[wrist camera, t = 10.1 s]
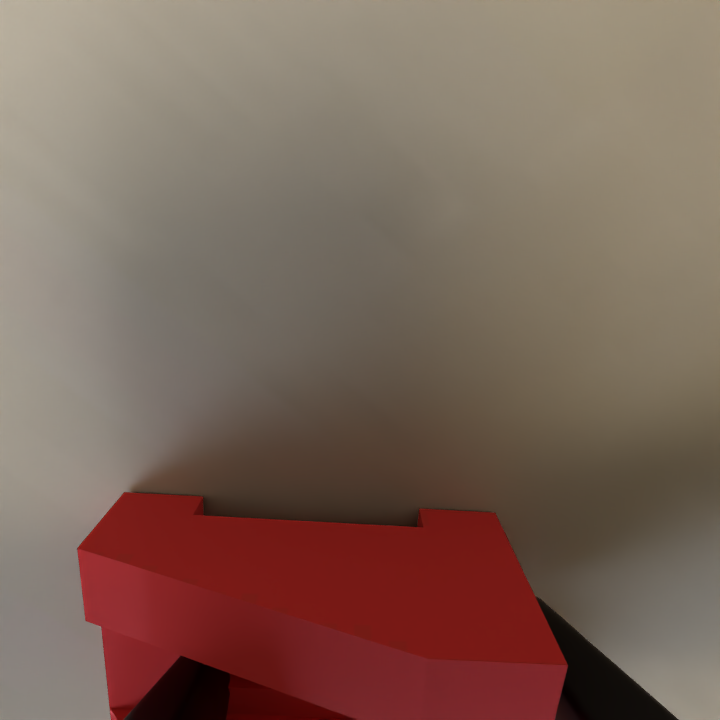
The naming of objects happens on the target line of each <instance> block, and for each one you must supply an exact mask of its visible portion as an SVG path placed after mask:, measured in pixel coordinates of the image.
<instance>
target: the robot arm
mask: <svg viewBox="0 0 720 720" xmlns="http://www.w3.org/2000/svg"><path fill="white" fill-rule="evenodd" d="M536 599H537V601H538V604H539V606H540V608H541V610H542V612H543V614H544V616H545V618H546V620H547V622H548V625H549V627H550V629H551V631H552V633H553V635H554V637H555V639H556V641H557V643H558V646H559V648H560V650H561V652H562V654H563V656H564V658H565V660H566V662H567V664H568V668H567V672H566V676H565V680H564V684H563V688H562V692H561V696H560V700H559V704H558V708H557V712H556V716H555V720H678V719H677V718H676V717H675V716H674V715H673V714H672V713H670V712H669V711H668V710H667V709H666V708H665V707H664V706H662V705H661V704H660V703H659V702H658V701H657V700H656V699H654V698H653V697H652V696H651V695H650V694H649V693H648V692H646V691H645V690H644V689H643V688H642V687H641V686H640V685H638V684H637V683H636V682H635V681H634V680H633V679H632V678H630V677H629V676H628V675H627V674H626V673H625V672H624V671H622V670H621V669H620V668H619V667H618V666H617V665H616V664H614V663H613V662H612V661H611V660H610V659H609V658H608V657H606V656H605V655H604V654H603V653H602V652H601V651H599V650H598V649H597V648H596V647H595V646H594V645H593V644H591V643H590V642H589V641H588V640H587V639H586V638H585V637H583V636H582V635H581V634H580V633H579V632H578V631H577V630H575V629H574V628H573V627H572V626H571V625H570V624H569V623H567V622H566V621H565V620H564V619H563V618H562V617H561V616H559V615H558V614H557V613H556V612H555V611H554V610H553V609H551V608H550V607H549V606H548V605H547V604H546V603H545V602H543V601H542V600H541V599H540V598H538V597H536ZM229 682H230V674H229V673H228V672H225V671H222V670H219V669H217V668H214V667H211V666H208V665H206V664H203V663H200V662H197V661H195V660H192V659H189V658H186V657H184V656H180V657H179V658H178V659H177V660H176V661H175V662H174V664H173V665H172V666H171V667H170V668H169V669H168V670H167V671H166V672H165V674H164V675H163V676H162V677H161V678H160V679H159V680H158V681H157V683H156V684H155V685H154V686H153V687H152V688H151V689H150V690H149V691H148V693H147V694H146V695H145V696H144V697H143V698H142V699H141V700H140V702H139V703H138V704H137V705H136V706H135V707H134V708H133V709H132V710H131V712H130V713H129V714H128V715H127V716H126V717H125V718H124V719H123V720H226V718H227V710H228V703H229V696H230V692H229V689H228V686H229Z"/></svg>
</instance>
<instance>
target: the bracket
mask: <svg viewBox="0 0 720 720" xmlns="http://www.w3.org/2000/svg"><path fill="white" fill-rule="evenodd" d="M77 550H78V558H79V567H80V576H81V585H82V594H83V602H84V611H85V620H86V621H88V622H90V623H93V624H96V625H99V626H101V628H102V638H103V648H104V657H105V667H106V677H107V686H108V696H109V706H110V716H111V720H123V719H124V718H125V717H126V716H127V715H128V714H129V713H130V712H131V710H132V709H133V708H134V707H135V706H136V705H137V704H138V703H139V702H140V700H141V699H142V698H143V697H144V696H145V695H146V694H147V693H148V691H149V690H150V689H151V688H152V687H153V686H154V685H155V684H156V683H157V681H158V680H159V679H160V678H161V677H162V676H163V675H164V674H165V672H166V671H167V670H168V669H169V668H170V667H171V666H172V665H173V664H174V662H175V661H176V660H177V659H178V658H179V657H180V656H184V657H186V658H189V659H192V660H195V661H197V662H200V663H203V664H206V665H208V666H211V667H214V668H217V669H219V670H222V671H225V672H228V673H229V674H230V682H229V686H228V689H229V692H230V696H229V703H228V710H227V718H226V720H555V716H556V712H557V708H558V704H559V700H560V696H561V692H562V688H563V684H564V680H565V676H566V672H567V668H568V664H567V662H566V660H565V658H564V656H563V654H562V652H561V650H560V648H559V646H558V643H557V641H556V639H555V637H554V635H553V633H552V631H551V629H550V627H549V625H548V622H547V620H546V618H545V616H544V614H543V612H542V610H541V608H540V606H539V604H538V601H537V599H536V597H535V595H534V593H533V591H532V589H531V587H530V585H529V583H528V580H527V578H526V576H525V574H524V572H523V570H522V568H521V566H520V564H519V562H518V559H517V557H516V555H515V553H514V551H513V549H512V547H511V545H510V543H509V541H508V539H507V536H506V534H505V532H504V530H503V528H502V526H501V524H500V522H499V520H498V518H497V515H496V513H492V512H474V511H456V510H438V509H420V508H419V515H418V524H417V527H406V526H388V525H369V524H351V523H332V522H314V521H295V520H277V519H258V518H240V517H221V516H204V513H203V497H202V496H184V495H166V494H148V493H130V492H124V493H123V494H122V496H121V497H120V498H119V499H118V500H117V502H116V503H115V504H114V505H113V506H112V508H111V509H110V510H109V511H108V512H107V514H106V515H105V516H104V517H103V518H102V519H101V521H100V522H99V523H98V524H97V525H96V527H95V528H94V529H93V530H92V531H91V533H90V534H89V535H88V536H87V537H86V538H85V540H84V541H83V542H82V543H81V544H80V546H79V547H78V548H77Z"/></svg>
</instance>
